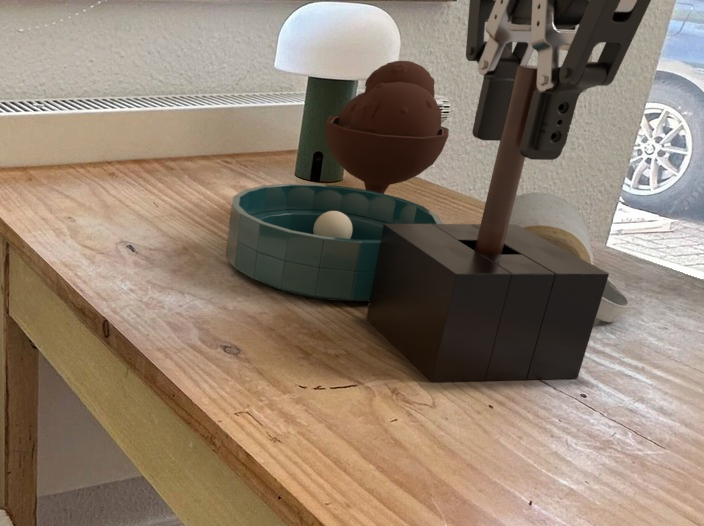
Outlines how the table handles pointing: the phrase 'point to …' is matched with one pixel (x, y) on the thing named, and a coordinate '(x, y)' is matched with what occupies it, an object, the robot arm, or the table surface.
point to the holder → (483, 303)
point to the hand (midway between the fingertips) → (513, 146)
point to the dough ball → (333, 225)
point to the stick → (507, 165)
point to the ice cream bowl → (389, 127)
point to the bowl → (314, 237)
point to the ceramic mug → (565, 239)
